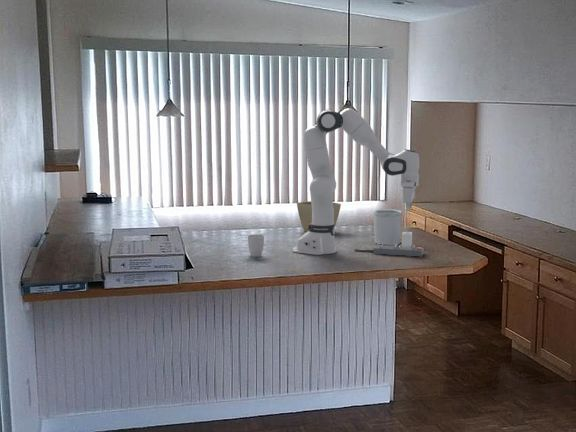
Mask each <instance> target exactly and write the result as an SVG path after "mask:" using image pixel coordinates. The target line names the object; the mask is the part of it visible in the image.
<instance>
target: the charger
mask: <svg viewBox="0 0 576 432" xmlns="http://www.w3.org/2000/svg"><path fill="white" fill-rule="evenodd" d="M401 244H402V247H405V248H412V245H413V232H412V231H403V232H402V233H401Z"/></svg>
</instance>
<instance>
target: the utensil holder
mask: <svg viewBox="0 0 576 432" xmlns="http://www.w3.org/2000/svg"><path fill="white" fill-rule="evenodd" d="M373 215H374V219H373V220H374V222H373V225H374V227H373V228H374V231H373V232H374V243H375V244H376V243H377V244H376V245H379V244H382V243H386V244H397V245H400V243H401V226H402V224H401V222H402V210H398V209H394V208H393V209H392V208H381V209H380V208H379V209H375V210H374V211H373Z"/></svg>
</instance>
